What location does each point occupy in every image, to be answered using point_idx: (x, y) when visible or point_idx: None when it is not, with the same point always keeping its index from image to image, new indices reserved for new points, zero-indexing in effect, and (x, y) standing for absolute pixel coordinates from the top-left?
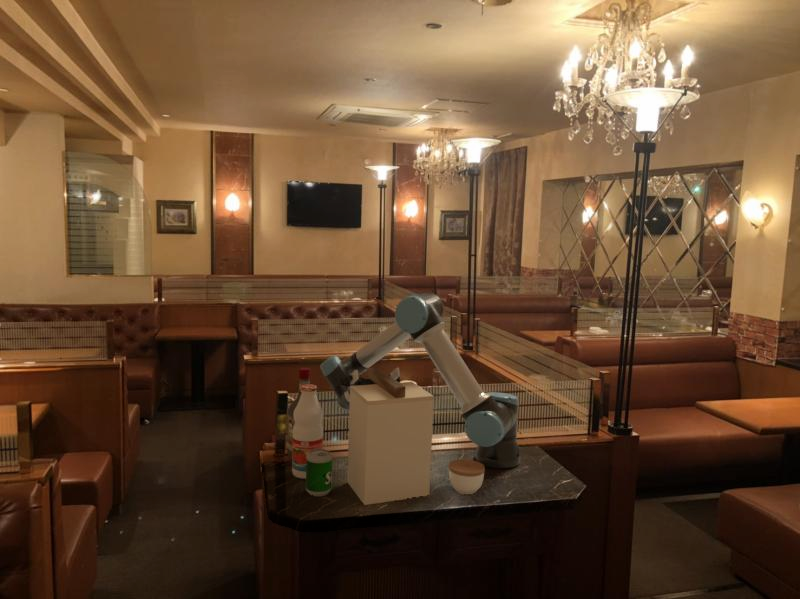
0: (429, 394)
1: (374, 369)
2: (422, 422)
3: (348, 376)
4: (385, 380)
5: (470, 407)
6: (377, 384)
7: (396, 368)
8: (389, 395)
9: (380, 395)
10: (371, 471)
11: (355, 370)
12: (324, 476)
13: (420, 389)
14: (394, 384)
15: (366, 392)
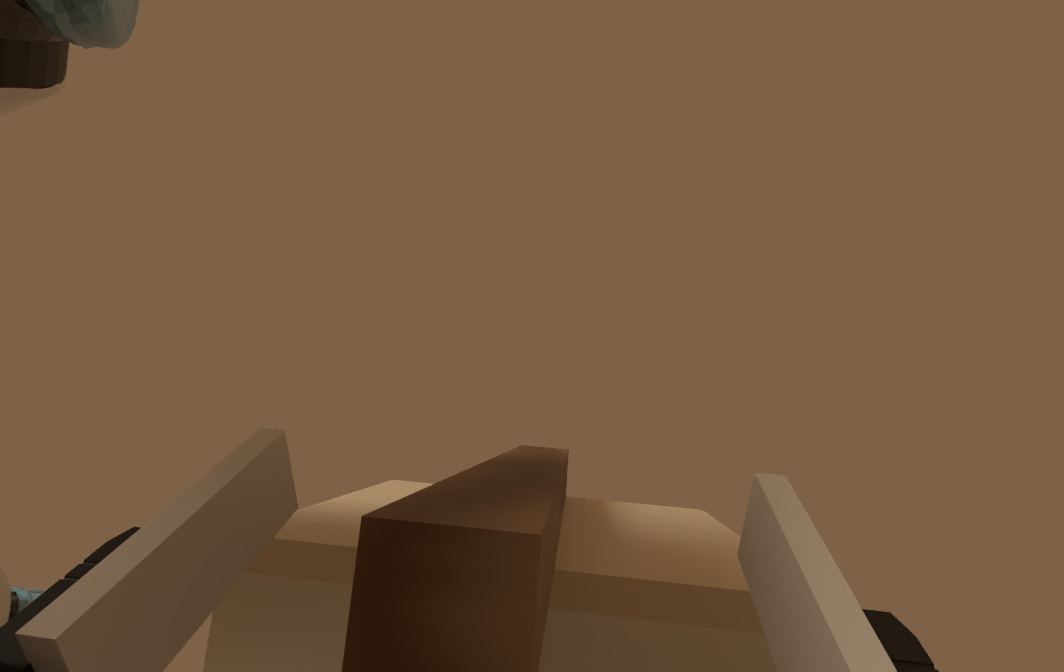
0: (391, 483)
1: (487, 499)
2: None
3: (914, 647)
4: (565, 460)
5: (5, 611)
6: (554, 563)
7: (280, 443)
8: (576, 507)
9: (621, 514)
10: None
11: (782, 480)
12: None
13: (358, 498)
14: (552, 451)
15: (691, 535)
